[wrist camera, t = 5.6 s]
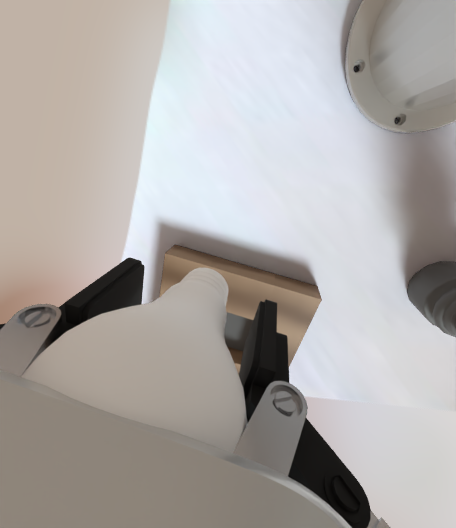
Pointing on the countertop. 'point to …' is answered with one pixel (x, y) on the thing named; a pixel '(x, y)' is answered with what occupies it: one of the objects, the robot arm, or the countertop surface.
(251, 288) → the socket block
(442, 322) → the candle holder
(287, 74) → the countertop surface
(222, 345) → the lightbulb
